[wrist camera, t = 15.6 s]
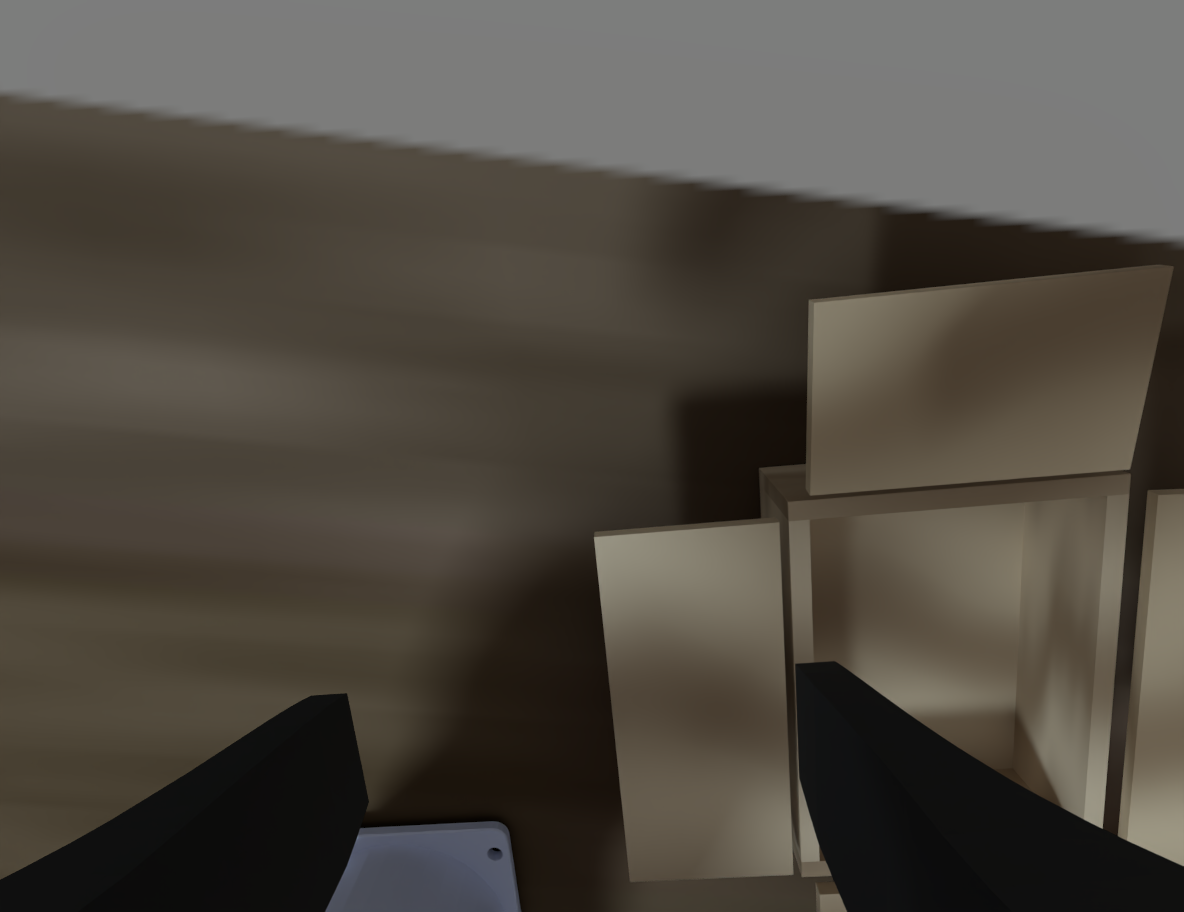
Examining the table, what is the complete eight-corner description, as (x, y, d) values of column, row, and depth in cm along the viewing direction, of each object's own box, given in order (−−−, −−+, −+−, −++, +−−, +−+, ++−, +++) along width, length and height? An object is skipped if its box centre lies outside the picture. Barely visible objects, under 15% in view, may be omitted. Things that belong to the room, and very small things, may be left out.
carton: (1016, 896, 22) (1095, 1013, 19) (641, 912, 23) (645, 1028, 19) (1038, 443, 19) (1140, 477, 15) (597, 481, 20) (592, 521, 16)
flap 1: (1173, 266, 13) (1158, 264, 14) (814, 302, 14) (808, 299, 14) (1130, 469, 15) (1117, 462, 15) (810, 495, 15) (805, 488, 16)
